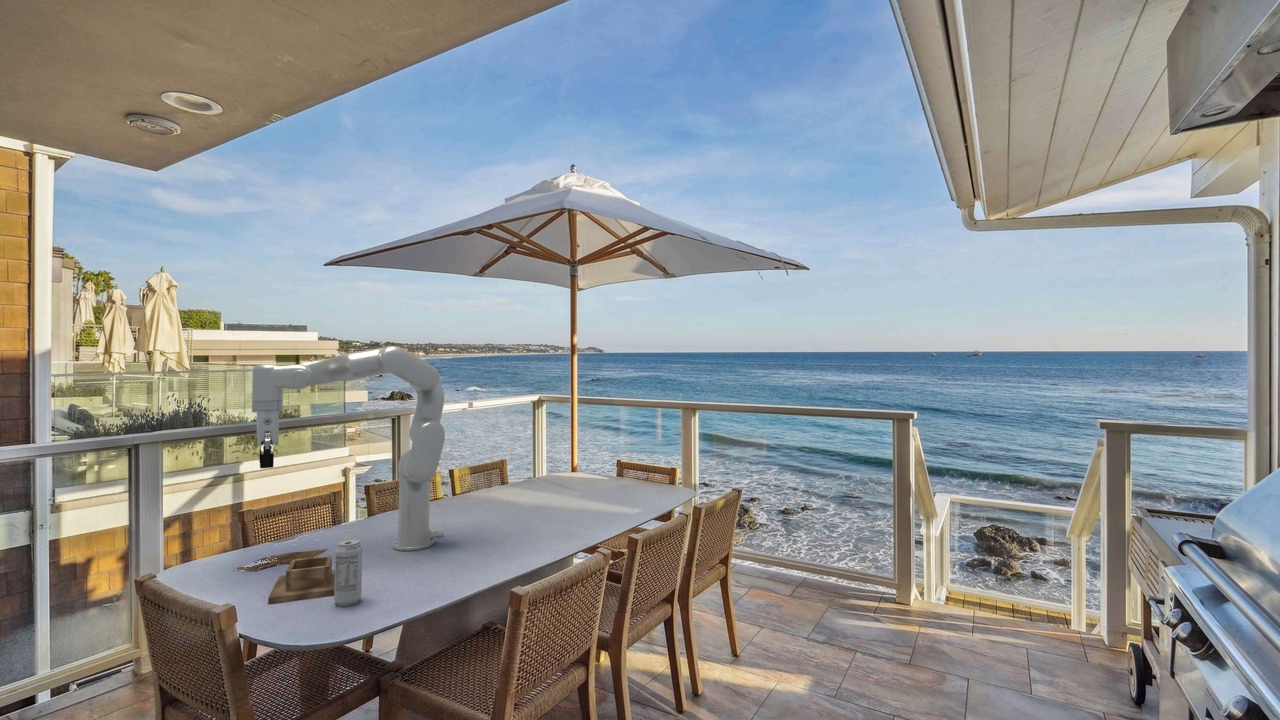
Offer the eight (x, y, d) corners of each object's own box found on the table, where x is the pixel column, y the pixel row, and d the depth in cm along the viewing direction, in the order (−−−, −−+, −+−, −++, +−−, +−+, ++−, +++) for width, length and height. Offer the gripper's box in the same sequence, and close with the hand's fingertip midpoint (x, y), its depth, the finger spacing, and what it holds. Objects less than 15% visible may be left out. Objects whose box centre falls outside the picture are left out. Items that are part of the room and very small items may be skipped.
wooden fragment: (238, 576, 157) (238, 572, 157) (228, 567, 164) (228, 563, 164) (336, 555, 176) (336, 551, 176) (323, 547, 183) (323, 544, 183)
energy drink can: (365, 597, 143) (366, 538, 143) (354, 607, 137) (355, 545, 137) (341, 597, 143) (342, 538, 143) (329, 607, 137) (330, 545, 137)
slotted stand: (345, 573, 159) (345, 550, 159) (341, 594, 145) (341, 568, 145) (279, 581, 153) (279, 557, 153) (268, 604, 138) (268, 577, 138)
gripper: (284, 408, 159) (282, 468, 158) (281, 404, 173) (280, 460, 173) (251, 409, 154) (250, 471, 154) (251, 405, 168) (250, 462, 168)
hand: (266, 465), depth 163 cm, fingers open, 9 cm apart
